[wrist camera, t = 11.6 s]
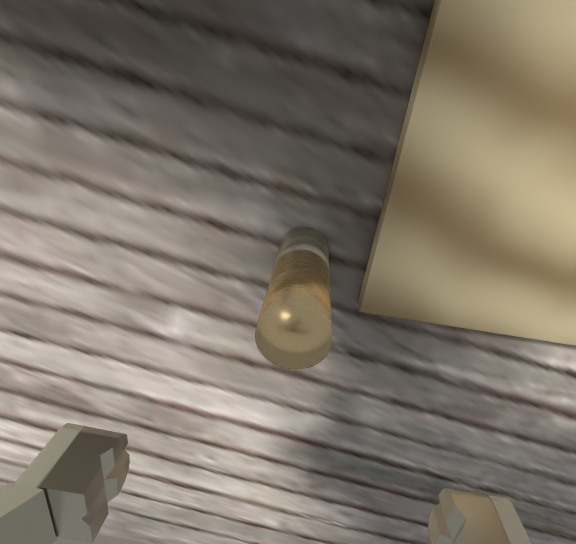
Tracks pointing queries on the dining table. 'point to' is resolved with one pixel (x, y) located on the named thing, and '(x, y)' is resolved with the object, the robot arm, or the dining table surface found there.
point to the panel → (485, 176)
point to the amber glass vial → (297, 303)
